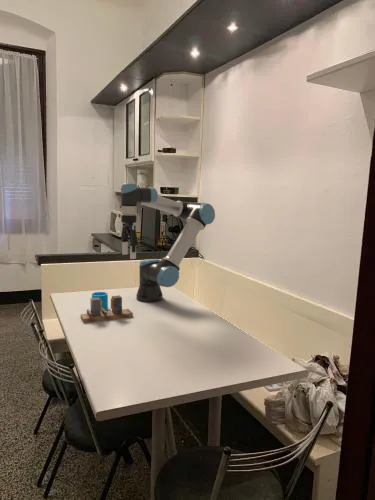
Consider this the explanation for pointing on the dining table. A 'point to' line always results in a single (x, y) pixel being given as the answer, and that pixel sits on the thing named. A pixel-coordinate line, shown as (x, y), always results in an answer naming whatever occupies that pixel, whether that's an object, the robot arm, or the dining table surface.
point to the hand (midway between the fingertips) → (128, 256)
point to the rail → (109, 312)
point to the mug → (102, 298)
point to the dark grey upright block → (96, 306)
